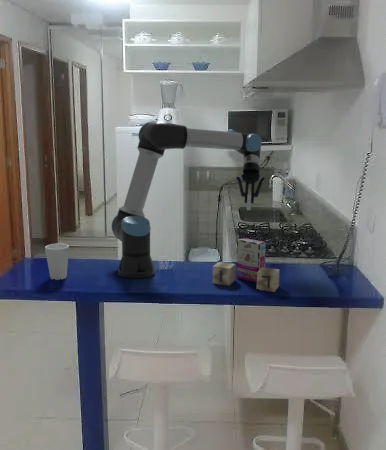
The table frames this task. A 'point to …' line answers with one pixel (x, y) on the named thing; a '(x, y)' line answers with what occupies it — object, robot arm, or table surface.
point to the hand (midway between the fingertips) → (248, 208)
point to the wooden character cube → (223, 273)
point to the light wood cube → (268, 279)
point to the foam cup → (57, 260)
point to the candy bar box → (250, 258)
